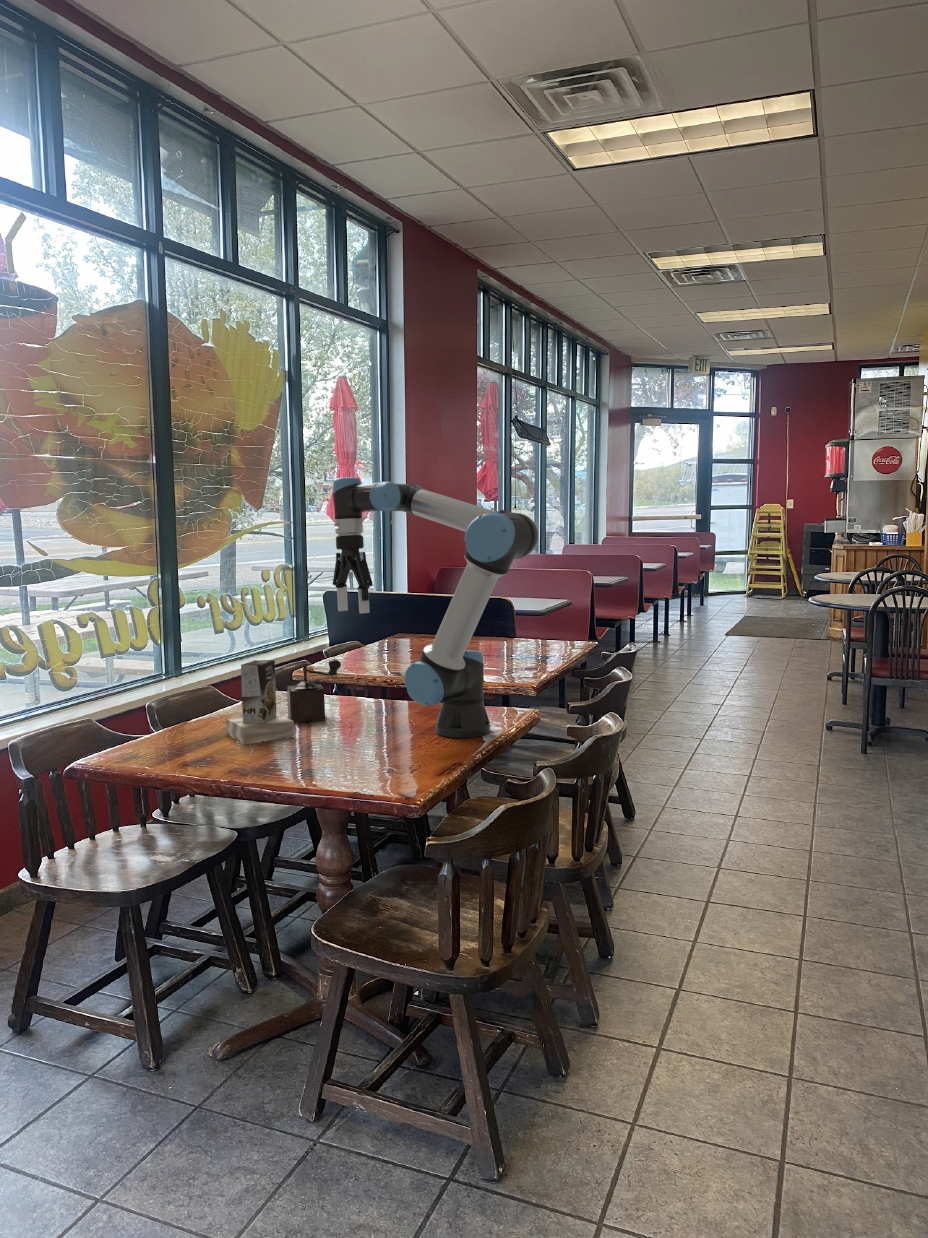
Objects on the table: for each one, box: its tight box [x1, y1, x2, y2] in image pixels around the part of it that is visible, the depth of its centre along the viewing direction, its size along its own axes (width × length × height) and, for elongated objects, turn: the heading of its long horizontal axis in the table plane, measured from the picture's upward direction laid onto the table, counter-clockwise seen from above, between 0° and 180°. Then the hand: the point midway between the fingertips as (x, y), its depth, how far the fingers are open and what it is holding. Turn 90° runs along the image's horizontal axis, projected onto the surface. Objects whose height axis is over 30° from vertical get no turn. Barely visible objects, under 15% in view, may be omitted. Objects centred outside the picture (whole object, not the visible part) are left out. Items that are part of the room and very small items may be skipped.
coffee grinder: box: [287, 658, 342, 723], centre depth 270 cm, size 16×11×18 cm
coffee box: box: [240, 659, 278, 724], centre depth 248 cm, size 9×6×16 cm
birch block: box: [225, 712, 295, 745], centre depth 249 cm, size 14×14×5 cm
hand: (353, 612), depth 250 cm, fingers open, 13 cm apart
